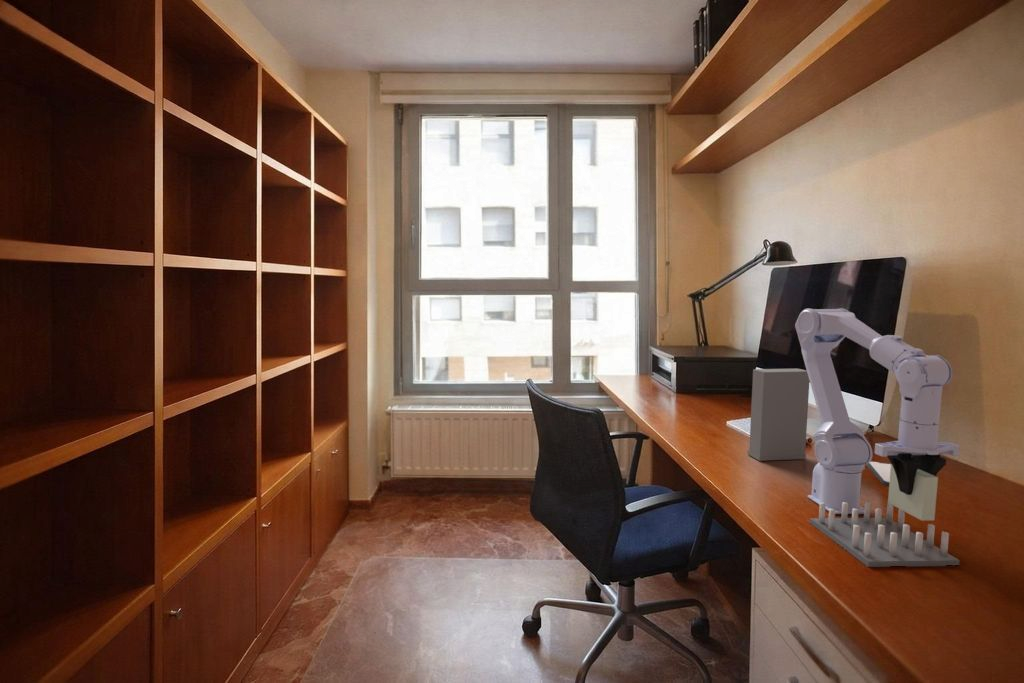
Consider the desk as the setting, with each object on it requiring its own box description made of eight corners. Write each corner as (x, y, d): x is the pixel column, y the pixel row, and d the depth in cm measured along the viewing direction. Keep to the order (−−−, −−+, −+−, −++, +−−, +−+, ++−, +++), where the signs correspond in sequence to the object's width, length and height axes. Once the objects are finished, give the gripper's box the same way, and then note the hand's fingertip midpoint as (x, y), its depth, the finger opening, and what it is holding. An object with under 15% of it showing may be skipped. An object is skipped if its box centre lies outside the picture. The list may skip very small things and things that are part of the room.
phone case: (927, 493, 125) (904, 470, 139) (927, 486, 124) (904, 464, 139) (883, 488, 128) (865, 466, 143) (883, 482, 127) (865, 460, 142)
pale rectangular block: (887, 502, 102) (891, 462, 102) (899, 502, 103) (902, 462, 102) (921, 520, 95) (925, 477, 94) (934, 520, 95) (938, 477, 94)
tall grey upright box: (791, 453, 153) (796, 368, 150) (805, 459, 147) (810, 371, 144) (746, 454, 151) (750, 368, 149) (759, 461, 145) (763, 372, 143)
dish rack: (809, 522, 107) (811, 499, 107) (886, 522, 108) (888, 498, 107) (868, 567, 90) (870, 539, 90) (958, 565, 91) (961, 538, 90)
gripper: (897, 427, 92) (891, 501, 94) (977, 426, 93) (970, 500, 94) (868, 417, 99) (863, 486, 101) (942, 416, 100) (936, 485, 101)
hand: (913, 492), depth 98 cm, fingers closed on pale rectangular block, 2 cm apart
